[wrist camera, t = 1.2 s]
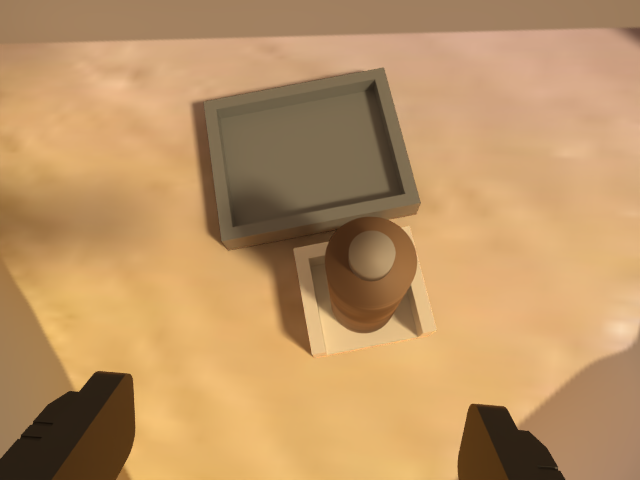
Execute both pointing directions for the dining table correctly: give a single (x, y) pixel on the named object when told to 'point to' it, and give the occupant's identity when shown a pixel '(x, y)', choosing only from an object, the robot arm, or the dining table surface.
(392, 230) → the pepper mill
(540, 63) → the dining table surface
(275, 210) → the serving tray
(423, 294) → the caddy slot
